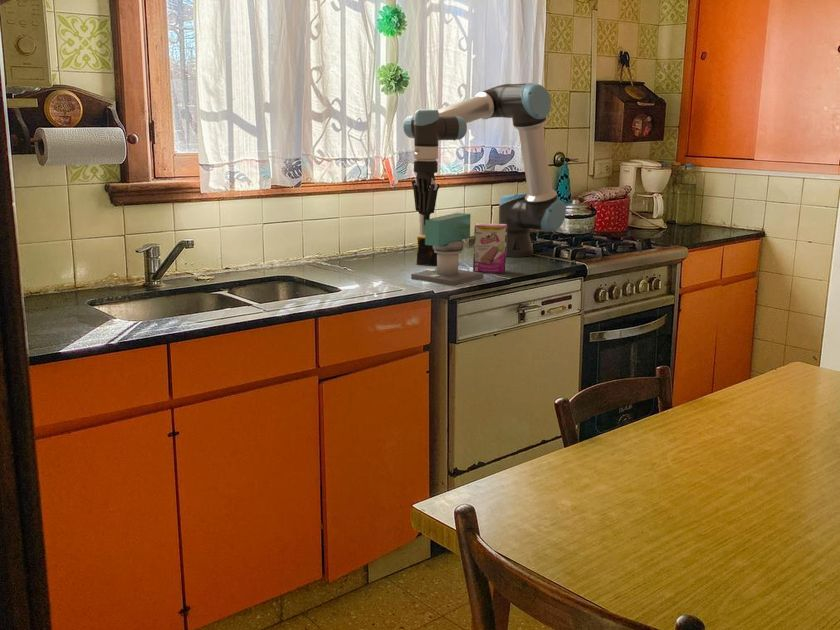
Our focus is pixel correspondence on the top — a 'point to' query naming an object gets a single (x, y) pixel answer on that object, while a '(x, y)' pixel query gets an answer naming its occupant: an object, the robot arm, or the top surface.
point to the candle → (425, 253)
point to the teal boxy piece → (447, 231)
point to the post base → (448, 279)
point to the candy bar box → (490, 248)
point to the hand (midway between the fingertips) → (424, 234)
